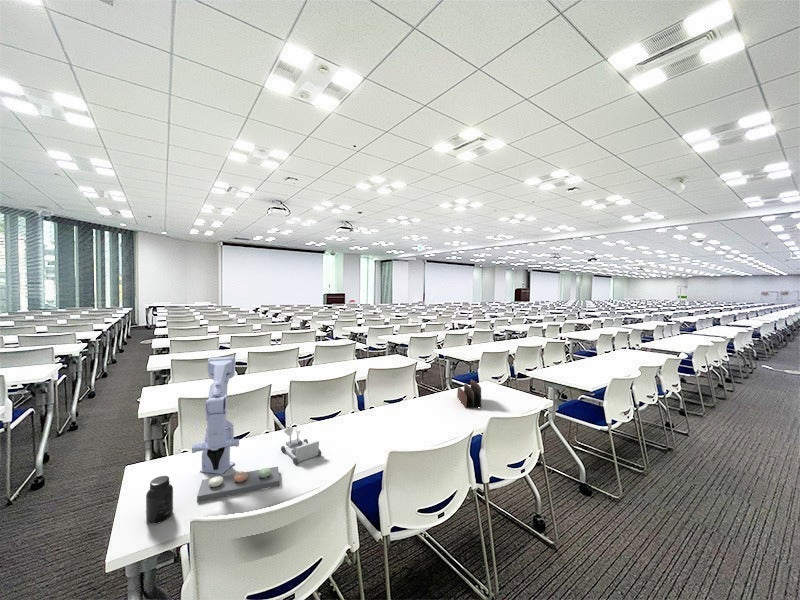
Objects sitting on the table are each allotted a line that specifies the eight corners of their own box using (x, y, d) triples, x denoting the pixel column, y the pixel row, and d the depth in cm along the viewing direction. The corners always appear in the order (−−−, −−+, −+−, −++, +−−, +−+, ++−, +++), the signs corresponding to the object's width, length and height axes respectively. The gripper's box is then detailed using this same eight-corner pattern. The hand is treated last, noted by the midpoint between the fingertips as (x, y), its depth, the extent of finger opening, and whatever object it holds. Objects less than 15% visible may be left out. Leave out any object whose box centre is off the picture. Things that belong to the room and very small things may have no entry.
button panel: (197, 502, 110) (197, 496, 110) (202, 485, 120) (202, 479, 119) (279, 485, 120) (279, 480, 120) (278, 471, 130) (278, 466, 130)
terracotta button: (233, 488, 117) (233, 480, 117) (234, 481, 121) (234, 473, 121) (247, 486, 119) (247, 477, 119) (247, 479, 123) (247, 471, 123)
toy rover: (278, 428, 147) (303, 421, 155) (278, 449, 147) (302, 442, 155) (296, 443, 134) (321, 435, 142) (295, 466, 134) (321, 457, 142)
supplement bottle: (140, 521, 101) (140, 483, 101) (163, 507, 107) (163, 471, 107) (155, 527, 99) (155, 488, 98) (178, 513, 105) (178, 476, 104)
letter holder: (471, 398, 223) (472, 377, 223) (481, 409, 203) (482, 386, 203) (456, 398, 222) (457, 377, 221) (465, 409, 202) (466, 386, 202)
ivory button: (208, 493, 114) (208, 484, 114) (209, 486, 118) (209, 477, 118) (222, 490, 116) (222, 482, 116) (223, 483, 120) (223, 475, 120)
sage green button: (258, 484, 120) (258, 475, 120) (258, 477, 124) (258, 469, 124) (270, 481, 122) (271, 473, 122) (270, 475, 126) (270, 467, 126)
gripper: (190, 439, 109) (190, 478, 110) (238, 432, 115) (238, 470, 116) (194, 430, 116) (194, 467, 117) (239, 424, 122) (239, 460, 122)
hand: (216, 468), depth 117 cm, fingers closed
